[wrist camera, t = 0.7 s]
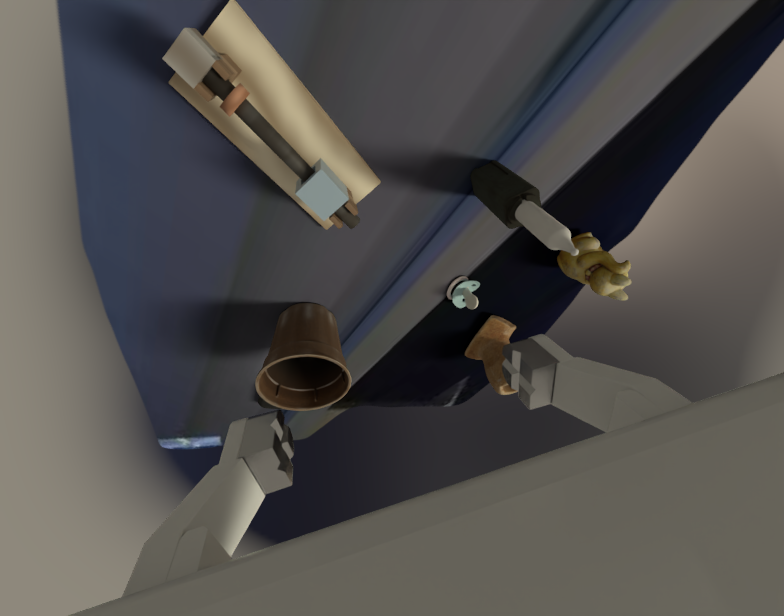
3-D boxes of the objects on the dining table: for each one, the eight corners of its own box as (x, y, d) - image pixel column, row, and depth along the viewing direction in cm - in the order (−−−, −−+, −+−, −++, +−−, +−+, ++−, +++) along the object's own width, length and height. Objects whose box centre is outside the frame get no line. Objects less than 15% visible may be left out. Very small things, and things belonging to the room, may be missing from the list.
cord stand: (233, -2, 35) (212, -12, 27) (379, 179, 50) (390, 204, 43) (171, 81, 38) (138, 92, 31) (326, 226, 54) (328, 256, 47)
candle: (474, 198, 56) (555, 279, 37) (469, 171, 52) (554, 245, 34) (501, 186, 55) (597, 262, 37) (498, 157, 52) (601, 225, 33)
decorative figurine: (589, 257, 70) (641, 299, 59) (554, 274, 72) (598, 318, 60) (587, 223, 64) (645, 262, 53) (548, 243, 65) (597, 285, 54)
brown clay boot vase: (492, 357, 88) (518, 403, 77) (457, 352, 84) (479, 401, 73) (524, 317, 80) (559, 363, 68) (487, 310, 75) (517, 357, 64)
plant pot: (277, 354, 72) (269, 418, 60) (256, 299, 61) (241, 363, 49) (348, 343, 74) (355, 403, 62) (340, 289, 63) (346, 348, 51)
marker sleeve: (320, 157, 42) (321, 168, 38) (346, 186, 45) (349, 199, 41) (296, 181, 43) (295, 193, 39) (323, 207, 46) (324, 221, 42)
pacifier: (440, 297, 70) (463, 302, 72) (448, 315, 65) (472, 321, 67) (456, 270, 66) (479, 277, 68) (466, 288, 61) (491, 294, 63)
